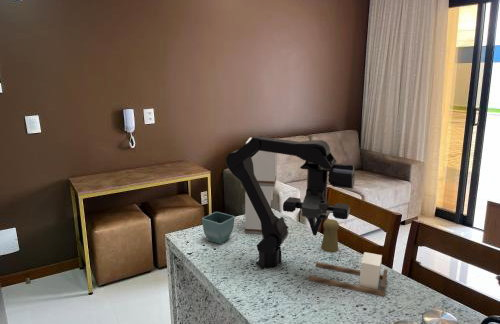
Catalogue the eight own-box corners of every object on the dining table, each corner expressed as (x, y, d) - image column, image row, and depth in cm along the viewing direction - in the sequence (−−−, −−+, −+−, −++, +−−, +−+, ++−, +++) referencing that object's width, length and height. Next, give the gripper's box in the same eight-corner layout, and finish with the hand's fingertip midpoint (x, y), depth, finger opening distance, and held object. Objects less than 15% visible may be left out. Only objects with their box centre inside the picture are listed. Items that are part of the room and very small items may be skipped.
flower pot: (235, 238, 144) (235, 216, 142) (221, 247, 137) (221, 223, 135) (216, 233, 149) (216, 211, 146) (201, 241, 141) (201, 218, 139)
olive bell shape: (338, 255, 132) (340, 224, 130) (320, 253, 133) (322, 223, 131) (338, 247, 138) (340, 218, 135) (320, 245, 139) (322, 216, 137)
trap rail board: (305, 287, 112) (306, 276, 112) (318, 262, 127) (319, 252, 126) (382, 304, 105) (383, 292, 104) (387, 276, 119) (388, 265, 118)
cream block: (359, 288, 111) (361, 262, 109) (362, 276, 117) (364, 252, 115) (377, 292, 109) (379, 266, 107) (379, 280, 115) (382, 255, 114)
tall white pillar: (273, 235, 147) (275, 143, 139) (245, 233, 149) (245, 142, 140) (275, 223, 158) (277, 138, 150) (248, 222, 160) (249, 137, 151)
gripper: (277, 188, 109) (276, 240, 113) (345, 196, 102) (342, 251, 106) (288, 178, 119) (287, 226, 123) (351, 185, 112) (348, 235, 116)
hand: (314, 234), depth 116 cm, fingers closed
